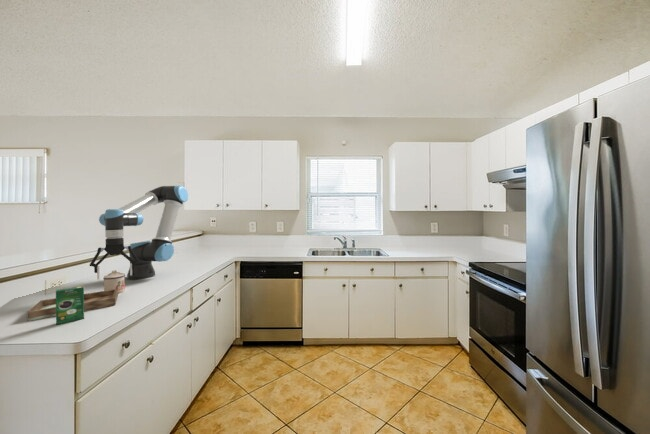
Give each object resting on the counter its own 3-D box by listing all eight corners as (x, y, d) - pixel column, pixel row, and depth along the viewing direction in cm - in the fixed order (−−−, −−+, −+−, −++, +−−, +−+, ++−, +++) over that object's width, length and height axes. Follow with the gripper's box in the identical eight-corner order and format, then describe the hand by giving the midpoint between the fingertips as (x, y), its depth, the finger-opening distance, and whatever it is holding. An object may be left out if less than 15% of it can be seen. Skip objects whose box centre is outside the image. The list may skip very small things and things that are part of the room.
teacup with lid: (118, 294, 133) (118, 272, 133) (99, 295, 132) (98, 273, 131) (132, 287, 145) (131, 267, 144) (114, 288, 143) (114, 268, 143)
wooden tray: (117, 295, 131) (117, 288, 131) (115, 305, 117) (114, 297, 117) (41, 308, 115) (40, 300, 115) (27, 321, 101) (27, 312, 101)
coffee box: (84, 316, 105) (83, 285, 105) (85, 318, 103) (83, 286, 103) (56, 323, 99) (54, 289, 99) (56, 325, 97) (54, 291, 97)
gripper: (81, 239, 127) (82, 282, 127) (143, 236, 142) (143, 274, 142) (84, 238, 133) (85, 279, 133) (142, 235, 148) (143, 272, 148)
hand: (115, 276), depth 138 cm, fingers open, 13 cm apart
